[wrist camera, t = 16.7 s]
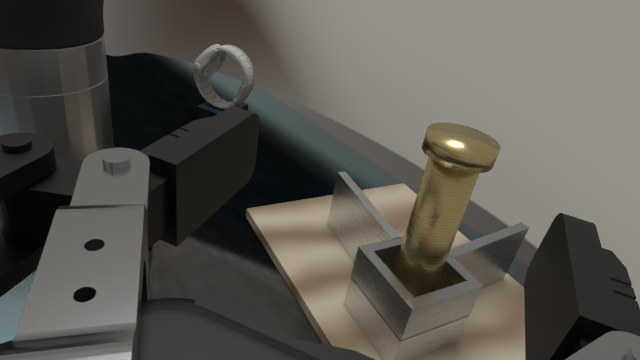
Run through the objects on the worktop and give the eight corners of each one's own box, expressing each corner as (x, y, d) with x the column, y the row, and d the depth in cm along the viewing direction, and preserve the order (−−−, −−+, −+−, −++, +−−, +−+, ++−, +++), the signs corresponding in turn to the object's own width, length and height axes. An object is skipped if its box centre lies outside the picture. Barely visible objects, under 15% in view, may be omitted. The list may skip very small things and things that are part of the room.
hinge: (291, 230, 43) (299, 177, 40) (420, 205, 51) (436, 159, 48) (389, 370, 31) (412, 309, 28) (538, 309, 39) (568, 257, 36)
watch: (209, 111, 65) (212, 35, 60) (257, 128, 63) (264, 50, 58) (184, 123, 61) (184, 41, 55) (234, 142, 59) (240, 59, 53)
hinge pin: (360, 311, 36) (412, 124, 28) (403, 297, 38) (463, 121, 30) (393, 354, 32) (463, 157, 25) (438, 337, 35) (515, 151, 27)
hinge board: (245, 216, 45) (246, 208, 45) (401, 190, 55) (403, 183, 54) (389, 453, 27) (393, 444, 27) (583, 353, 37) (589, 345, 36)
